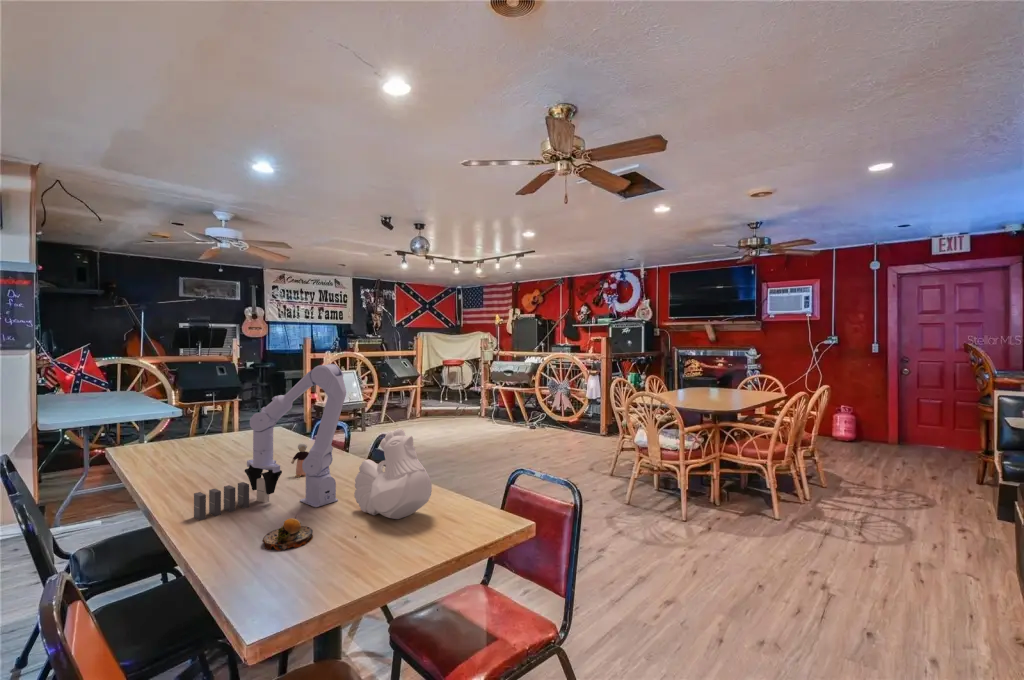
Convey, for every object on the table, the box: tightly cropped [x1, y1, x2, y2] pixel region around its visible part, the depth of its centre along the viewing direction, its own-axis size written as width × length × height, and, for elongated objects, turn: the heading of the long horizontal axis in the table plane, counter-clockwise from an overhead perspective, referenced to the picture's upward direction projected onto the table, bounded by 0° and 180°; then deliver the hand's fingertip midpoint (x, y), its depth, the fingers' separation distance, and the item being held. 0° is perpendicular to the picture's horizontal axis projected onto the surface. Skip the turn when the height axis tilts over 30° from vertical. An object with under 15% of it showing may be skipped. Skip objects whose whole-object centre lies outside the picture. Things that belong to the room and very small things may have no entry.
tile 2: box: [223, 484, 236, 513], centre depth 142 cm, size 4×2×7 cm, turn 54°
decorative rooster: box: [353, 427, 433, 520], centre depth 141 cm, size 25×16×25 cm
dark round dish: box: [261, 514, 314, 552], centre depth 121 cm, size 12×12×8 cm
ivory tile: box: [256, 477, 270, 504], centre depth 150 cm, size 4×2×7 cm, turn 62°
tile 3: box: [208, 488, 222, 517], centre depth 138 cm, size 4×2×7 cm, turn 54°
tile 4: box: [193, 491, 207, 521], centre depth 135 cm, size 4×2×7 cm, turn 54°
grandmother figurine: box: [290, 442, 309, 478], centre depth 177 cm, size 8×4×13 cm, turn 143°
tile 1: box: [237, 481, 250, 509], centre depth 145 cm, size 4×2×7 cm, turn 54°
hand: (263, 491), depth 150 cm, fingers open, 7 cm apart
